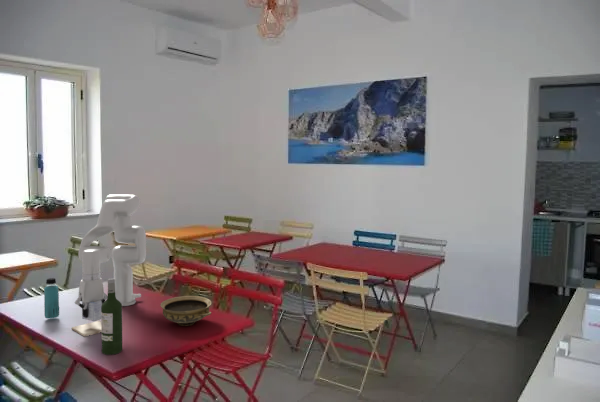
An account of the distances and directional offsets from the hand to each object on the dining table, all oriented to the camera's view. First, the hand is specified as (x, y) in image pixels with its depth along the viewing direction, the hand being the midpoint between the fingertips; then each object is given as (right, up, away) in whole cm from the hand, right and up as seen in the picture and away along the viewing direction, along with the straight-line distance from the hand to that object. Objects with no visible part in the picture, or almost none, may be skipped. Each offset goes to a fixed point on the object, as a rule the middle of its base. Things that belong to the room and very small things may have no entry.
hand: (92, 315), depth 220 cm
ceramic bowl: (+40, -7, +12) cm, 42 cm away
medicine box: (0, -2, 0) cm, 2 cm away
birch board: (0, -7, +1) cm, 7 cm away
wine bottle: (+18, -9, -24) cm, 31 cm away
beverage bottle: (-25, -5, +13) cm, 29 cm away
